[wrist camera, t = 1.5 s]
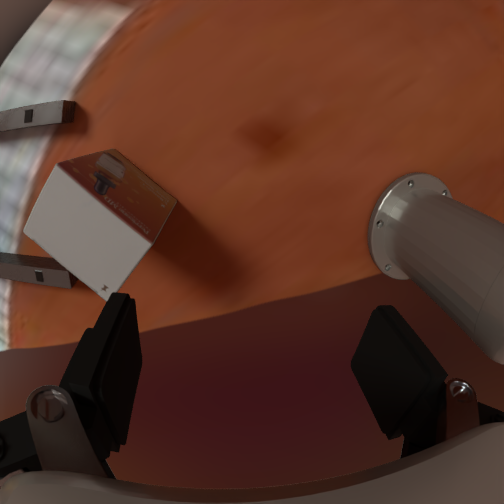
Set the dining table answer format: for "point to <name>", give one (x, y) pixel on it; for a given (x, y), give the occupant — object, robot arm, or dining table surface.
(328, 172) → the dining table surface
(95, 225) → the small box
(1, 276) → the socket frame
